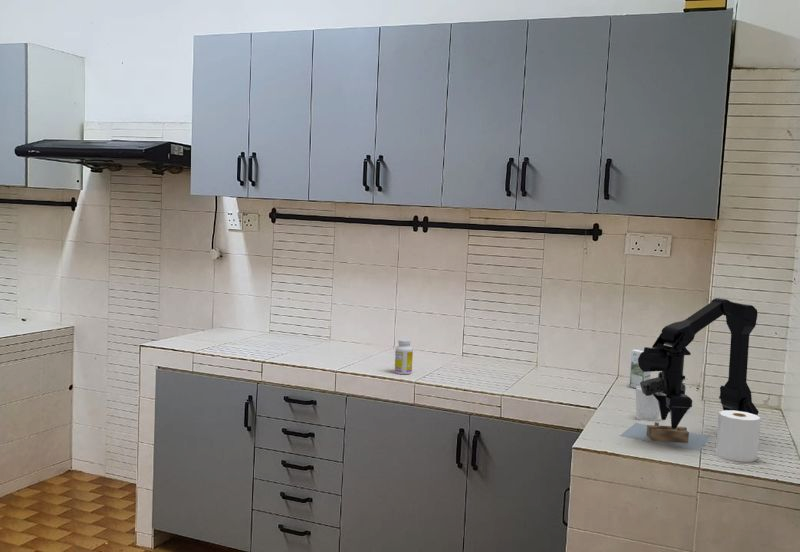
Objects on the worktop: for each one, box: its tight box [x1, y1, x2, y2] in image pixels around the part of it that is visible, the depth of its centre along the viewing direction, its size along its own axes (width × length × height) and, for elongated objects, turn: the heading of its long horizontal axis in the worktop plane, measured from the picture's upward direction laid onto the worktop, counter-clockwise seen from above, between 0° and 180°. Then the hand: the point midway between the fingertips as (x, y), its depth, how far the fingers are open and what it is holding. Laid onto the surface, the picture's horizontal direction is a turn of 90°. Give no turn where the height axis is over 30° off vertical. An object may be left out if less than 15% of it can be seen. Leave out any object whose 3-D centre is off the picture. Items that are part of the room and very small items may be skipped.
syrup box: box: [629, 348, 651, 390], centre depth 297 cm, size 6×6×14 cm
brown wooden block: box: [646, 424, 690, 443], centre depth 227 cm, size 10×6×3 cm, turn 89°
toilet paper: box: [715, 409, 761, 463], centre depth 213 cm, size 10×10×12 cm
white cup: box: [635, 386, 660, 422], centre depth 251 cm, size 8×8×10 cm
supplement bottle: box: [394, 338, 414, 375], centre depth 304 cm, size 7×7×13 cm
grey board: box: [619, 421, 712, 452], centre depth 230 cm, size 22×18×3 cm
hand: (668, 424), depth 226 cm, fingers open, 9 cm apart
